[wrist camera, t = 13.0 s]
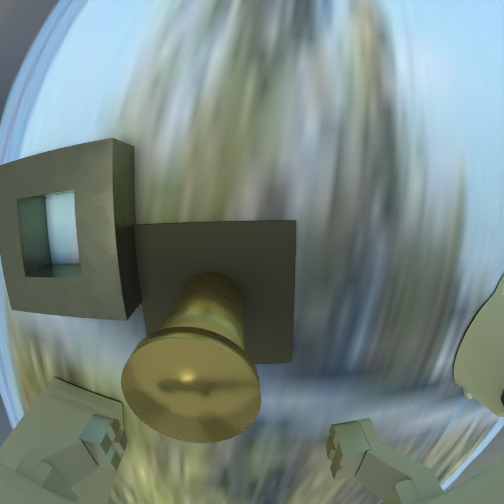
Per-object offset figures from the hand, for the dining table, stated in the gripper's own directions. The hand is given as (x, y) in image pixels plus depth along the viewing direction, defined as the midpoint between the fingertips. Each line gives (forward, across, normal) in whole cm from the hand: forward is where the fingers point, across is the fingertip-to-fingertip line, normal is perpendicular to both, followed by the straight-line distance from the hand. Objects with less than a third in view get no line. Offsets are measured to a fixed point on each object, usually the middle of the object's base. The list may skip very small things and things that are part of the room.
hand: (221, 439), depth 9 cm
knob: (+13, +2, 0) cm, 13 cm away
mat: (+14, +2, 0) cm, 14 cm away
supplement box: (+13, +18, +15) cm, 26 cm away
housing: (+13, +14, -6) cm, 20 cm away
